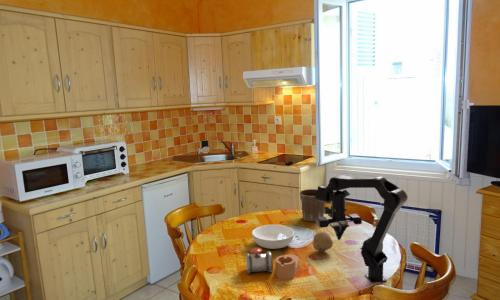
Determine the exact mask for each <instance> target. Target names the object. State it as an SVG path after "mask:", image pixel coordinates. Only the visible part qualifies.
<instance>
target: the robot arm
mask: <svg viewBox="0 0 500 300" xmlns="http://www.w3.org/2000/svg"><path fill="white" fill-rule="evenodd" d="M350 188H351V189H354V188H356V189H357V188H358V189H360V188H361V189H363V188H365V189H367V188H370V189H375V190H376V191H377V192H378V195H379V197H380V198H382V200H383V211H382V214H381V216H380V218H379V220H378V221H377V224H376V227H375V229H374V232H373V233H372V235H371V236H370V237H368V238H366V239H365V240H363V242H362V246H361V248H360V250H361V251H360V255H361V257H362V259H363V262H364V265H365V266H366V267H368V269H367V272H365V273H364V276H365V277H366V278H367V280H369V282H370V283H379V282H387V278H385V276H384V263H387V261H388V256H387V255H386V254H385V253H384V251H383V249H384V240H385V238H386V235H387V233H388V231H389V229H390V227H391V225H392V222H393V220H394V218H395V216H396V214H397V213H398V212H399V211H400V210H401V208H402V207H403V206H404V205H405V203H406V202H407V200H408V194H407V192H406V191H405V190H404V189H401V188H400V187H398V186H397V185H396V184H394V183H392V182H391V181H388V180H387V178H385V177H384V176H382V175H381V176H377V177H376V176H368V177H367V176H366V177H365V176H364V177H352V176H349V175H345V174H339V175H336V176H333V177H331V178H330V179H329V182H328V184H327V186H323V185H319V186H317V191H316V194H315V199H316V200H317V201H321V202H325V203H326V204H330V203H331V205H330V208H329V206H324V215H327V217H330V218H327V217H325V216H324V217H317V218H316V222H315V224H316V225H317V226H318V227H319V228H321V229H322V228H328V227H329V226H330V227H331V228H332V229H333V231H334V233H335V235H336V239H337V241H341V240H342V237H343V235H344V232H345V231H346V229H348V228H349V227H350V225H349V224H348V223H349V222H350V223H351V222H352V223H353V224H354V225H362V224H363V220H362V219H363V218H362V217H361V216H359V214H357V213H351V214H348V215H347V217H346V211H347V208H346V197H349V196H351V193H350V192H349V191H348V190H347V189H350Z"/></svg>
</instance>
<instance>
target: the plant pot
mask: <svg viewBox="0 0 500 300" xmlns="http://www.w3.org/2000/svg"><path fill="white" fill-rule="evenodd" d="M317 189H318V188H317ZM317 189H316V188H315V189H314V188H310V189H302V190H299V192H298V193H299V196H300V201H301V203H300V204H301V211H302V212H301V213H302V219H303V220H304V221H307V222H315V223H316V218H317V217H325V216H324V215H325V214H324V207H326V206H325V205H326V204H325V203H326V202H321V201H317V200H316V199H315V194H316V191H317Z"/></svg>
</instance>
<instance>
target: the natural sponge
mask: <svg viewBox="0 0 500 300" xmlns="http://www.w3.org/2000/svg"><path fill="white" fill-rule="evenodd" d="M312 240H313V242H312V246H313V249H314V250H315V251H318V252H320V253H323V252H326V251H327V250H330V249H332V247H333V245H334V241H333V239H332V237H331V236H330V234H329V233H328V232H326V231H325V230H324V231H317V232H316V233H315V234H314V236H313V239H312Z"/></svg>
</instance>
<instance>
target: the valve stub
mask: <svg viewBox="0 0 500 300" xmlns="http://www.w3.org/2000/svg"><path fill="white" fill-rule="evenodd" d="M262 252H263V249H262V247H252V248H250V253H251V254H250V253H245V254H246V255H245V256H246V259H245V260H246V261H245V262H246V272H247V274H251V273H254V272H255V273H256V272H267V273H273V271H274V269H273V268H274V266H273V254H272V252H271V250H270V251H266V253H262Z"/></svg>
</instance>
